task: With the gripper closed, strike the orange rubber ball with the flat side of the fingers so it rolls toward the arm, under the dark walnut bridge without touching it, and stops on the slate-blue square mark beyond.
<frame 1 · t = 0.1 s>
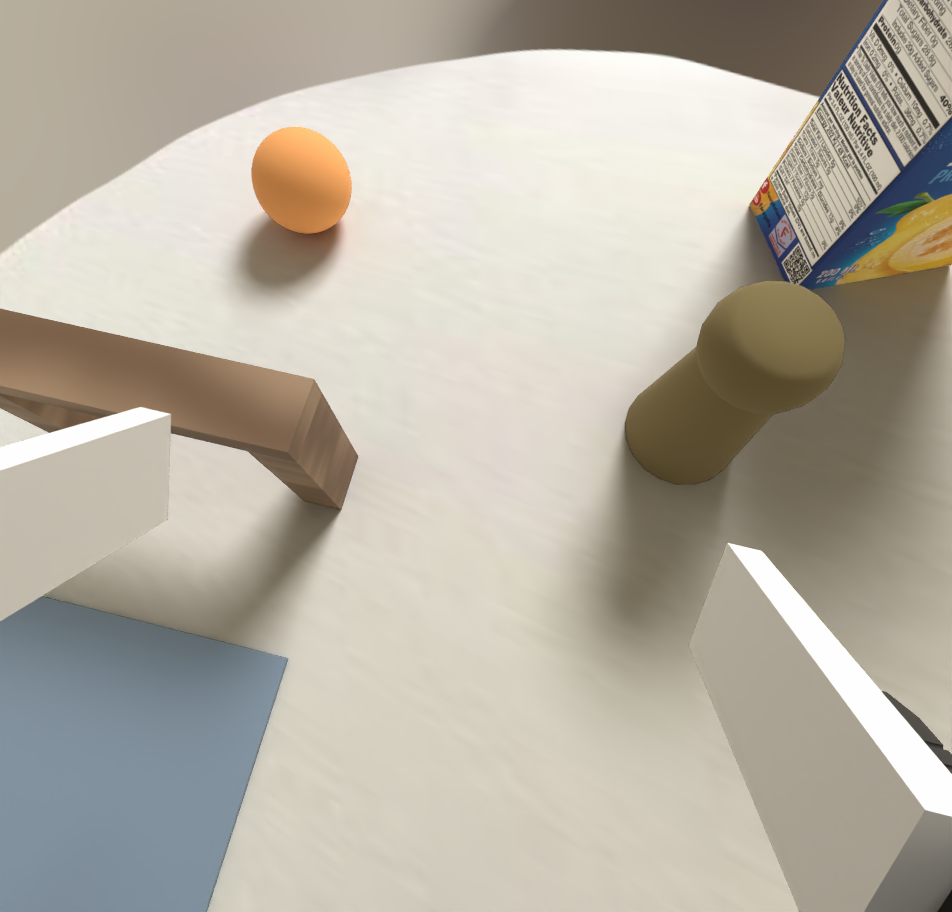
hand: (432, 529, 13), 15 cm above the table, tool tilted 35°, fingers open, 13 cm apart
ball: (302, 182, 32), on the table
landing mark: (84, 784, 24), on the table
beverage box: (845, 236, 35), on the table
bridge: (219, 452, 29), on the table
cork: (678, 433, 31), on the table
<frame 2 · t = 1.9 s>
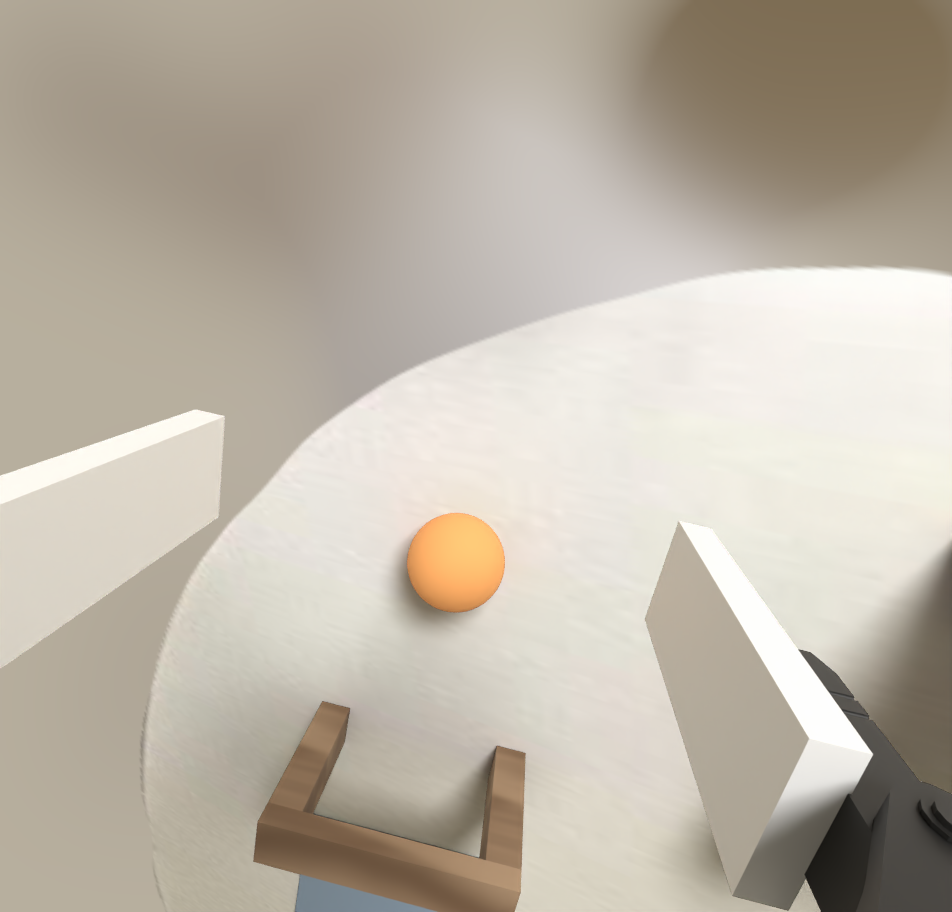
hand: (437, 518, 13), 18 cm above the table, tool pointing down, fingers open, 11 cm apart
ball: (456, 561, 31), on the table
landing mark: (385, 901, 43), on the table
bridge: (419, 743, 38), on the table
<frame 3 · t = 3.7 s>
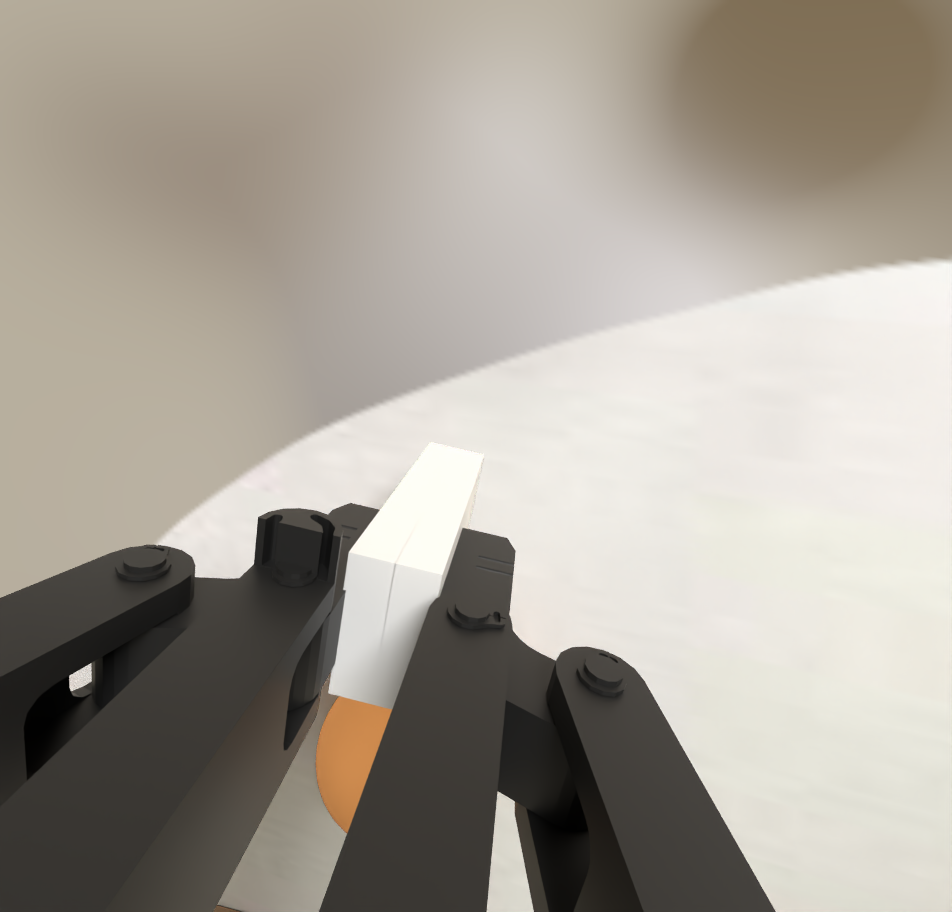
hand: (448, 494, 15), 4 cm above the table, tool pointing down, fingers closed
ball: (400, 750, 19), on the table
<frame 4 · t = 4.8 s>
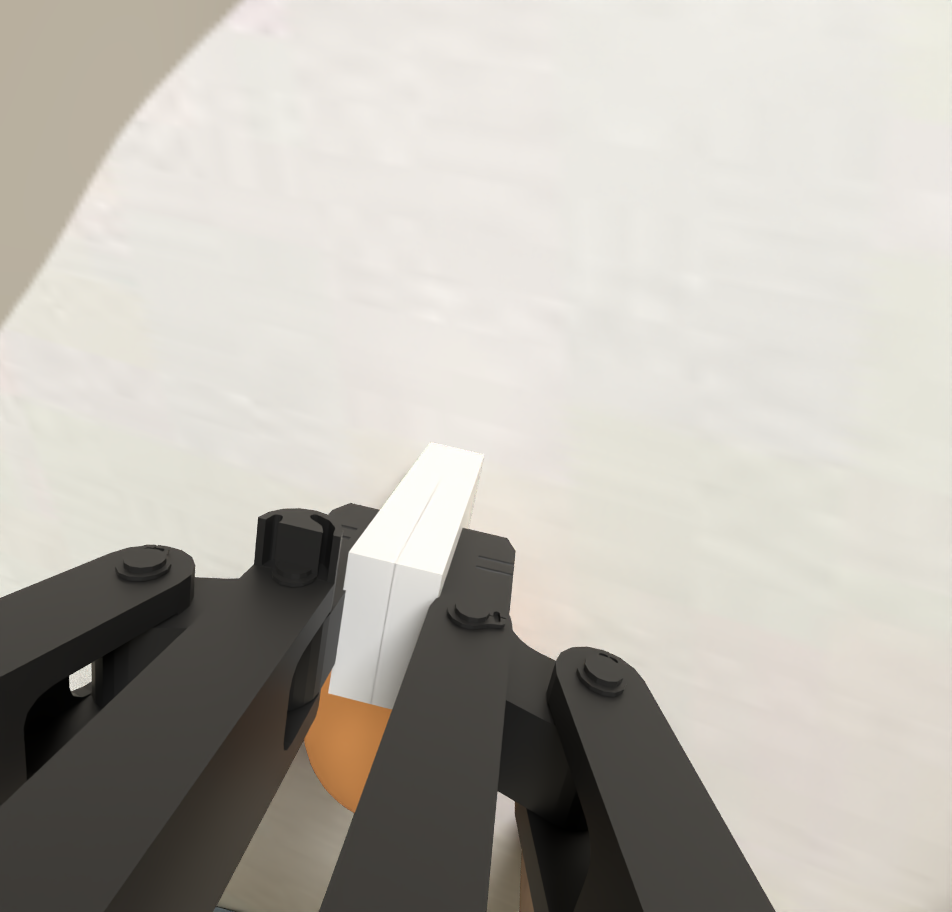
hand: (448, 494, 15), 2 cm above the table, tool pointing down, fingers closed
ball: (402, 708, 16), on the table
bridge: (391, 786, 20), on the table
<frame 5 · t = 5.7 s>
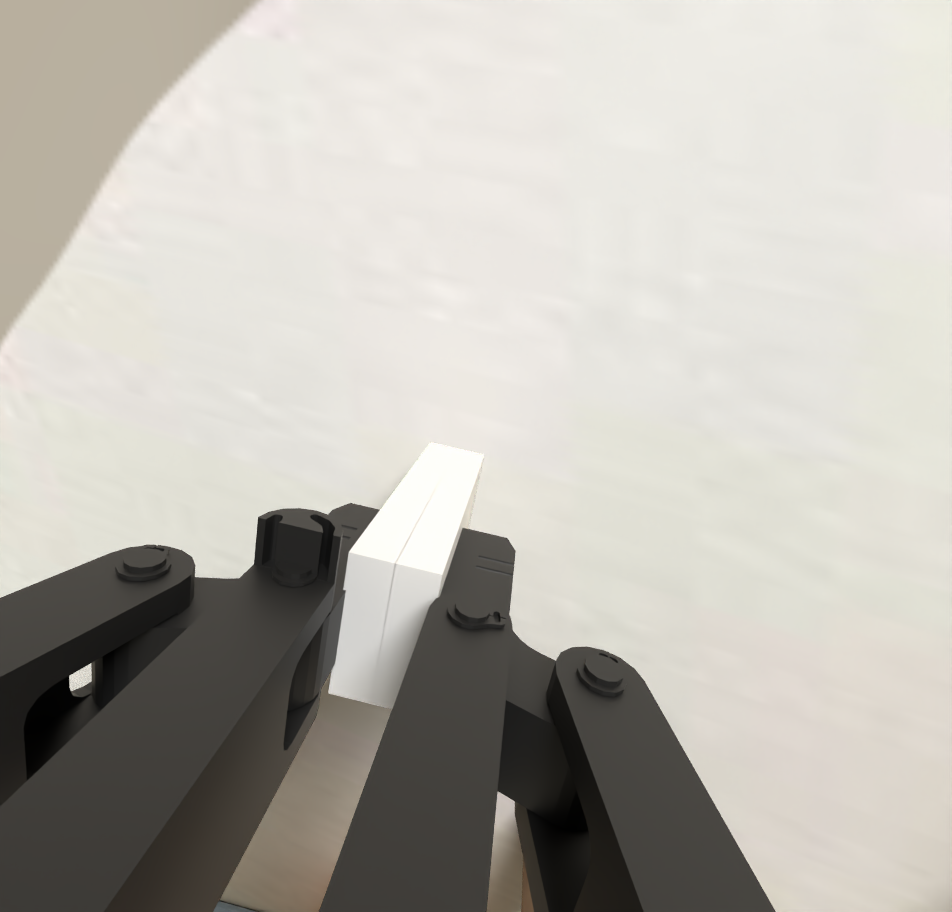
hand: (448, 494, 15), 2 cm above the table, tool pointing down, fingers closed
bridge: (395, 781, 21), on the table
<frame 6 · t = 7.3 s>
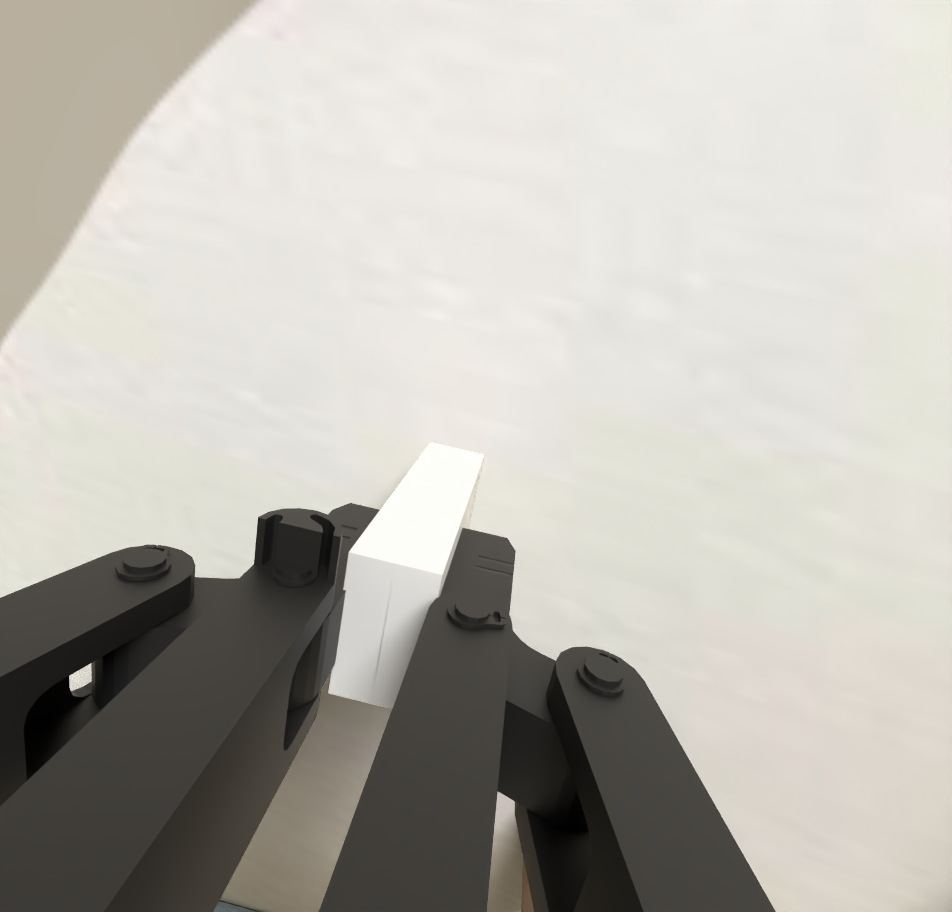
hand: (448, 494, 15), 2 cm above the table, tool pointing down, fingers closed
bridge: (395, 781, 21), on the table
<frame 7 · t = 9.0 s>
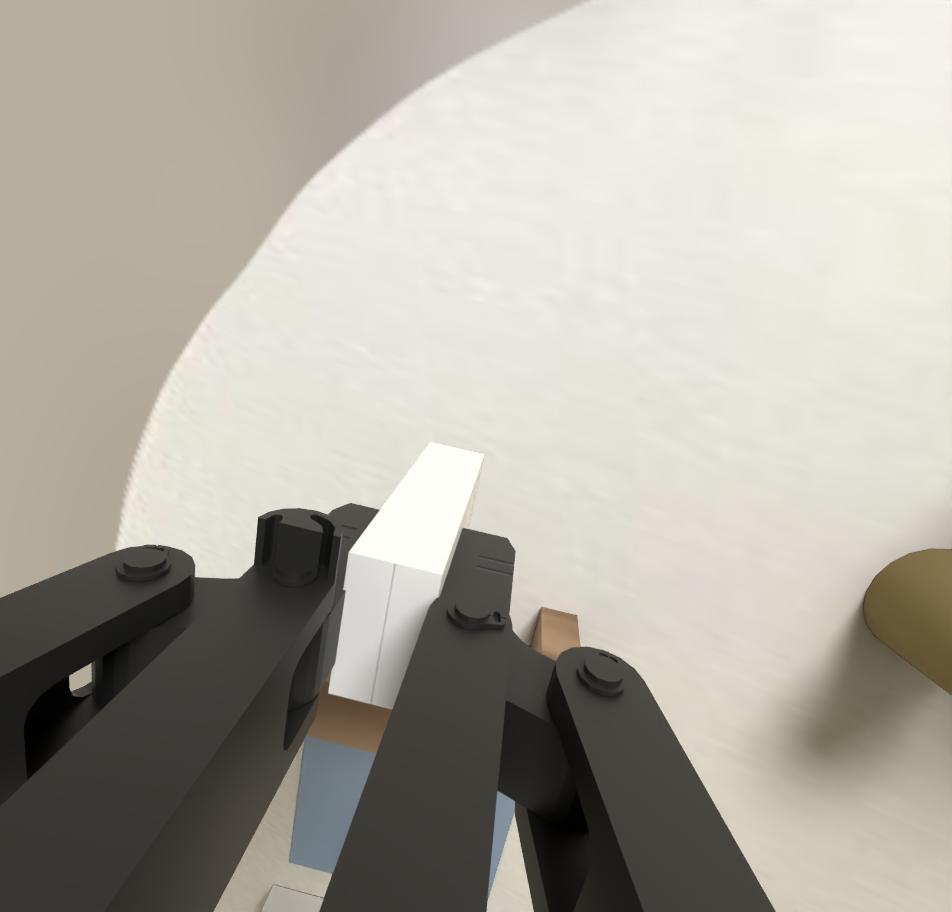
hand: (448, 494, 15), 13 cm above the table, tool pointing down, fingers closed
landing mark: (401, 812, 36), on the table
bridge: (445, 607, 31), on the table
cork: (924, 599, 28), on the table
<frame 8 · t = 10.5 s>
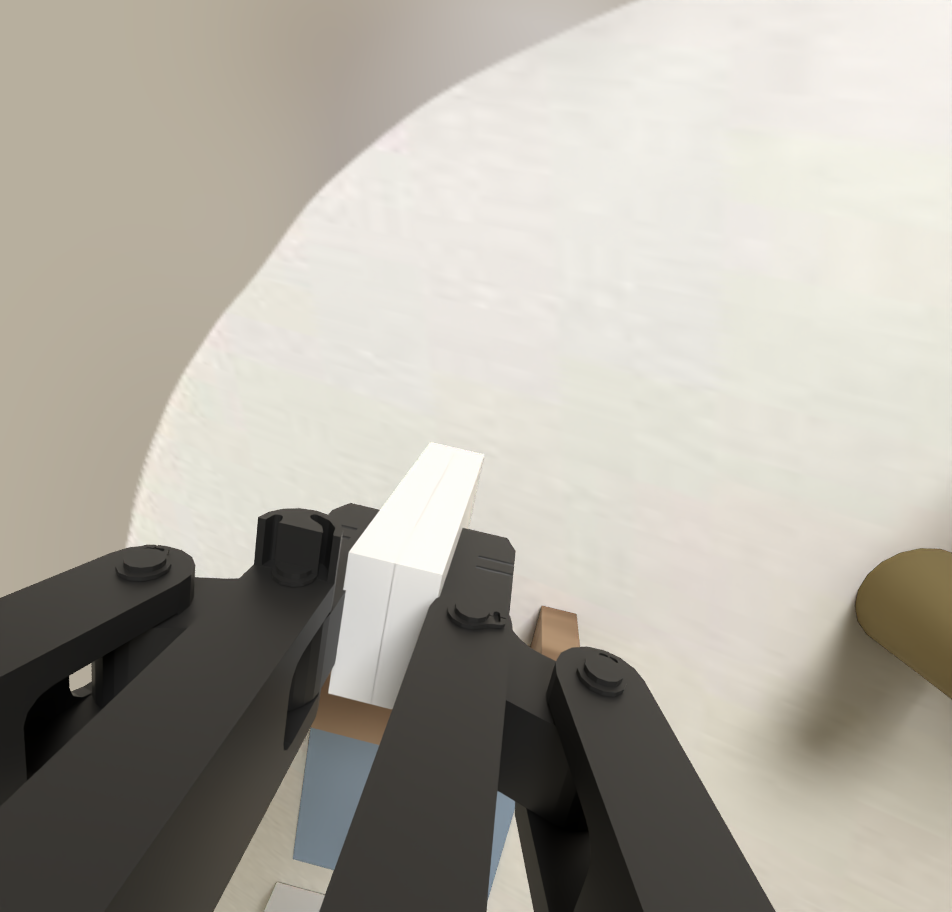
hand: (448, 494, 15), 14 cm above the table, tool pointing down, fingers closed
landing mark: (404, 809, 37), on the table
bridge: (447, 606, 32), on the table
cork: (915, 598, 29), on the table
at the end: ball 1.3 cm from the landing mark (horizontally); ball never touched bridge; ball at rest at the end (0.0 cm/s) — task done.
